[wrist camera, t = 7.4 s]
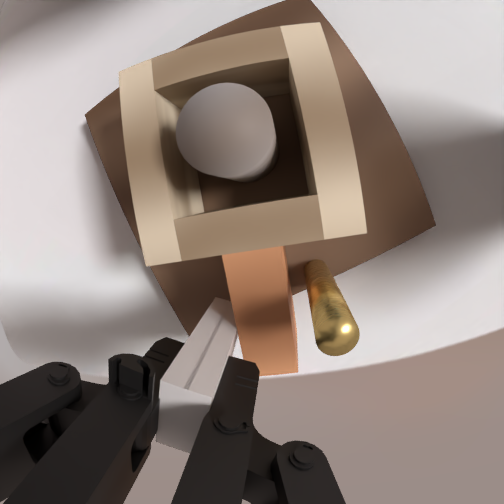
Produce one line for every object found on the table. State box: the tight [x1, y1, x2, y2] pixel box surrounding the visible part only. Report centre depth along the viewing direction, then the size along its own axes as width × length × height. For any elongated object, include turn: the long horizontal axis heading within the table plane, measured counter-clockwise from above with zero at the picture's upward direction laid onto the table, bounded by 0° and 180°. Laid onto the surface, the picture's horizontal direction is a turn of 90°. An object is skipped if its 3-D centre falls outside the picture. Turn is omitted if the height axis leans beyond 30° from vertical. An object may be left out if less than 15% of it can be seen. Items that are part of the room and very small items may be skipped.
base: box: [85, 0, 436, 336], centre depth 11 cm, size 14×14×6 cm
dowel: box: [304, 259, 359, 356], centre depth 11 cm, size 1×1×7 cm
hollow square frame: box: [119, 22, 367, 376], centre depth 12 cm, size 13×8×4 cm, turn 10°
